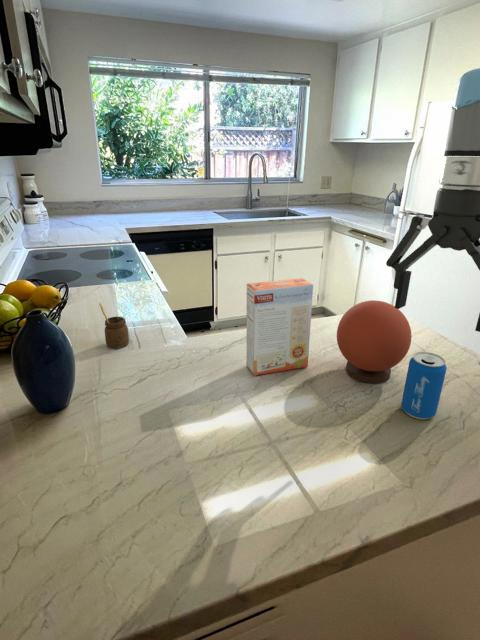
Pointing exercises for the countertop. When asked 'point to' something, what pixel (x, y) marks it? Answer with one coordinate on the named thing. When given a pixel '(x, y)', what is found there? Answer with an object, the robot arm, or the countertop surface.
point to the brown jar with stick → (116, 331)
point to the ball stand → (373, 340)
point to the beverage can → (423, 385)
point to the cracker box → (278, 325)
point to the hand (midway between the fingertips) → (437, 317)
